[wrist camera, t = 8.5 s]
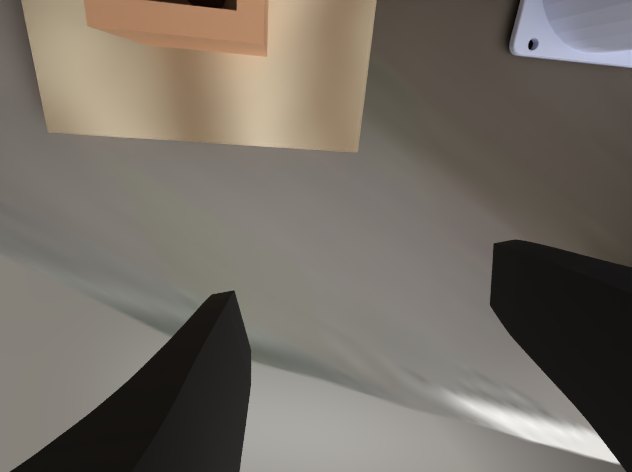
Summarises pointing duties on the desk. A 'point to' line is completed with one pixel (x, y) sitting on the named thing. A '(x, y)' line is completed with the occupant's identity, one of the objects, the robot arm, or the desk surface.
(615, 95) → the desk surface
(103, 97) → the post board
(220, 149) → the desk surface
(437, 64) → the desk surface
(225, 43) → the square collar
